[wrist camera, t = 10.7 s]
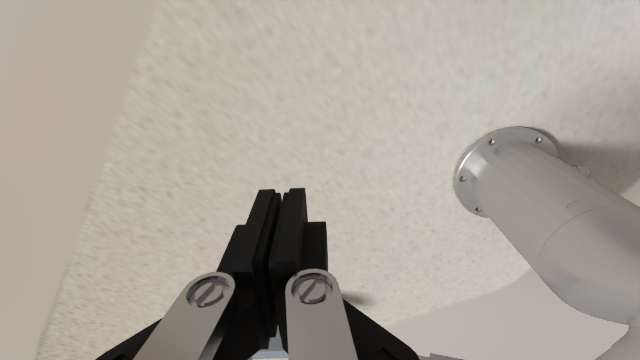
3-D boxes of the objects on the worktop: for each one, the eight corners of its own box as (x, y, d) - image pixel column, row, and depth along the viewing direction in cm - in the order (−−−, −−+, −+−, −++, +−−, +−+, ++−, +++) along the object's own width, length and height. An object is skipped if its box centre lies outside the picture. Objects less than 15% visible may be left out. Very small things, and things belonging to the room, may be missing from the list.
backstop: (321, 325, 54) (320, 350, 50) (321, 332, 55) (321, 357, 51) (229, 328, 54) (222, 352, 50) (231, 334, 55) (224, 359, 51)
